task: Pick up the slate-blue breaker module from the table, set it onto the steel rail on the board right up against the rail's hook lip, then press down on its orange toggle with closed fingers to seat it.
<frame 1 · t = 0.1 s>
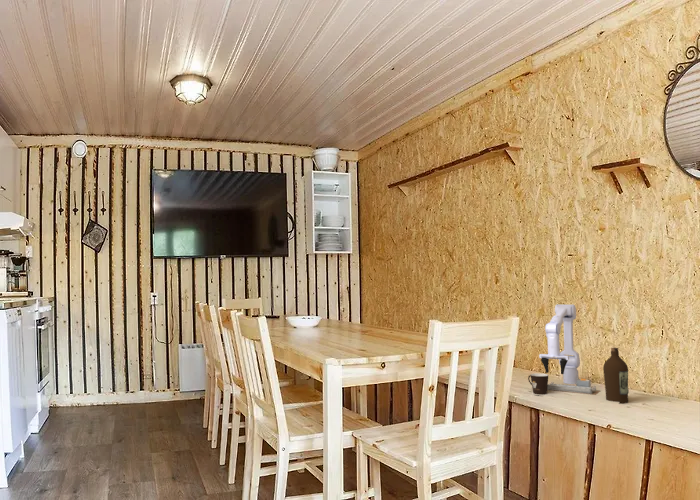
hand: (554, 373, 286), 10 cm above the bench, tool pointing down, fingers open, 7 cm apart
rail: (571, 390, 288), resting on board
coffee mug: (539, 394, 284), on the bench
module: (583, 389, 292), on the bench
board: (571, 391, 288), on the bench
olive oil: (617, 401, 264), on the bench
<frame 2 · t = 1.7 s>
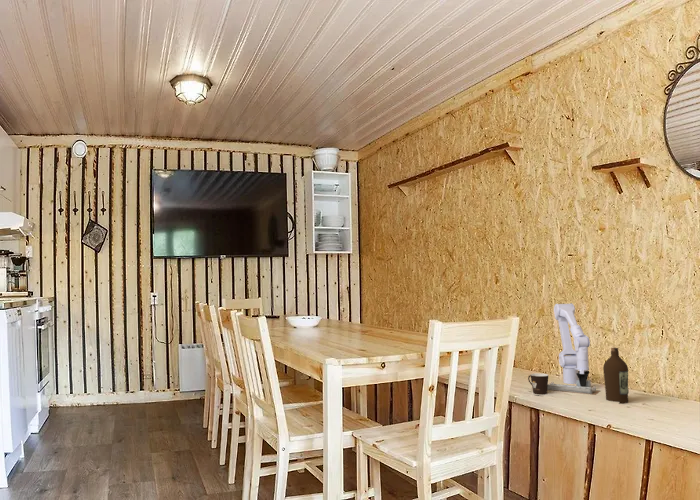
hand: (583, 386, 292), 2 cm above the bench, tool pointing down, fingers open, 6 cm apart
nothing on the bench moved.
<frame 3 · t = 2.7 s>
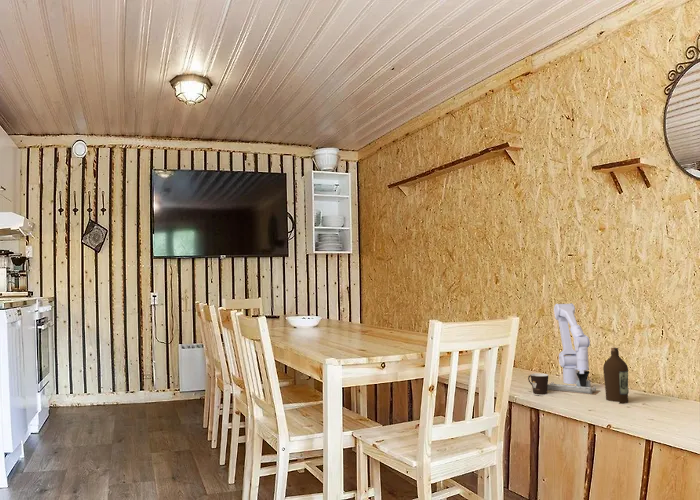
hand: (583, 386, 292), 2 cm above the bench, tool pointing down, fingers open, 5 cm apart
module: (583, 390, 292), on the bench, touching gripper
everything else where it was.
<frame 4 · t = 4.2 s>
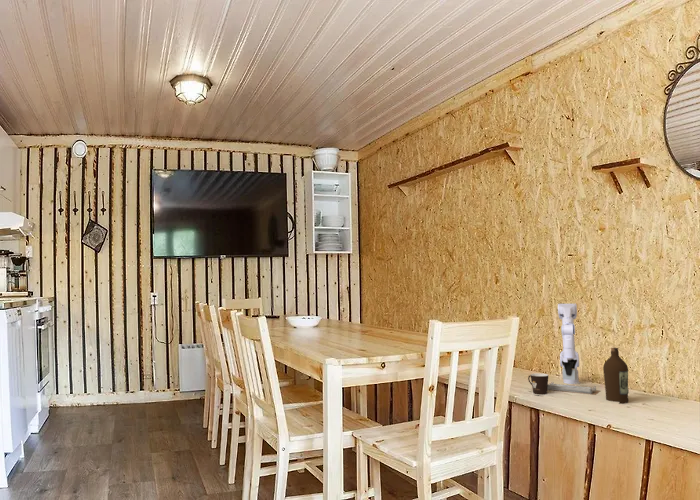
hand: (570, 374, 287), 9 cm above the bench, tool pointing down, fingers closed on module, 4 cm apart
module: (569, 378, 287), point 7 cm above the bench, touching gripper
everything else where it was.
when the fingers open (4 cm above the bench, at t = 5.5 s): module stays where it is, resting on rail.
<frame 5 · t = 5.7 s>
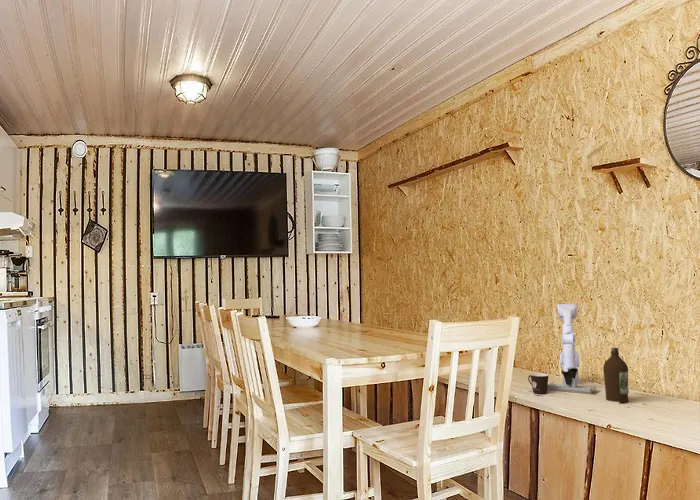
hand: (570, 383, 287), 4 cm above the bench, tool pointing down, fingers open, 6 cm apart
module: (570, 388, 287), point 2 cm above the bench, touching rail
everything else where it was.
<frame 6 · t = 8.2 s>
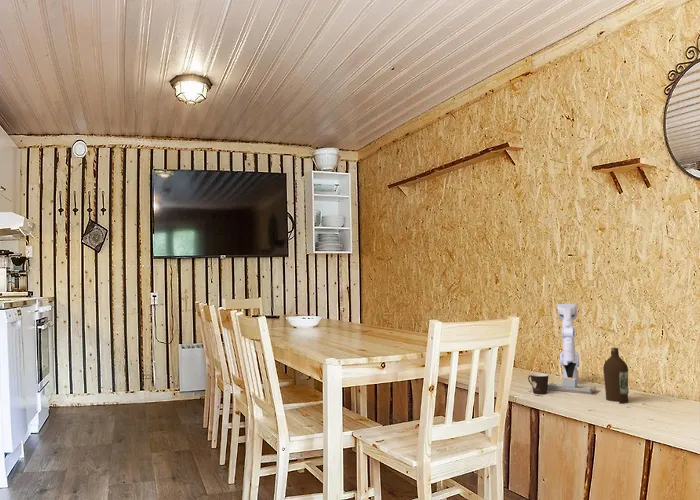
hand: (570, 377, 287), 8 cm above the bench, tool pointing down, fingers closed, pressing on module
module: (570, 388, 287), point 2 cm above the bench, touching gripper, rail
everything else where it was.
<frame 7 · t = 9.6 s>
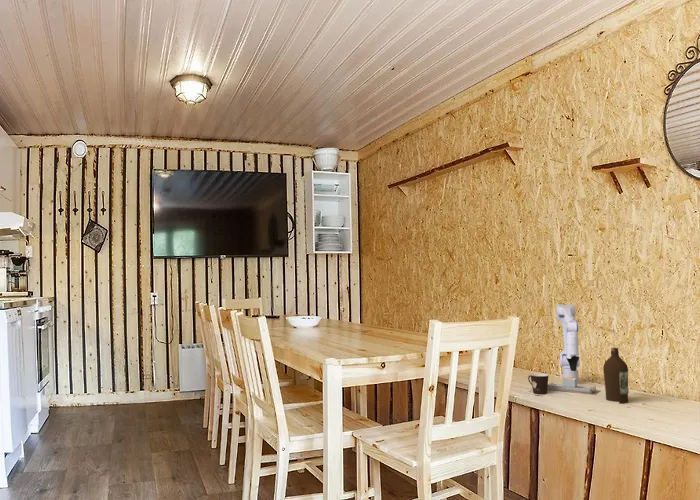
hand: (573, 370, 293), 10 cm above the bench, tool pointing down, fingers closed
module: (570, 388, 287), point 2 cm above the bench, touching rail
everything else where it was.
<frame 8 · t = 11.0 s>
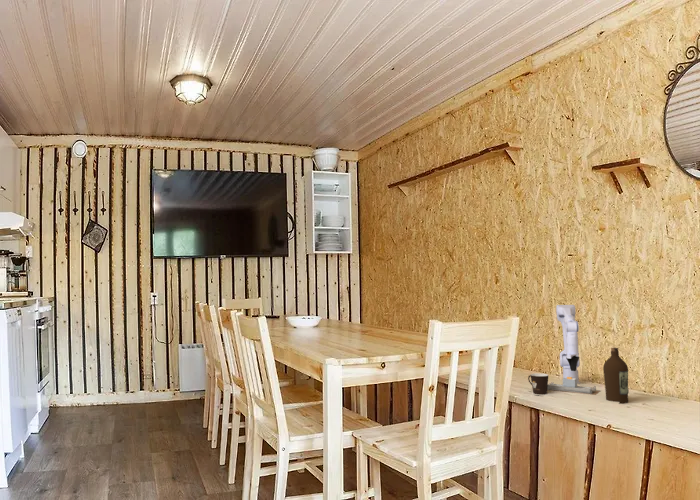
hand: (573, 370, 293), 10 cm above the bench, tool pointing down, fingers closed
nothing on the bench moved.
at the end: module 0.5 cm from the target spot on the rail, point 1.0 cm above the rail's base; module tilted 0°; module touching rail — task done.
